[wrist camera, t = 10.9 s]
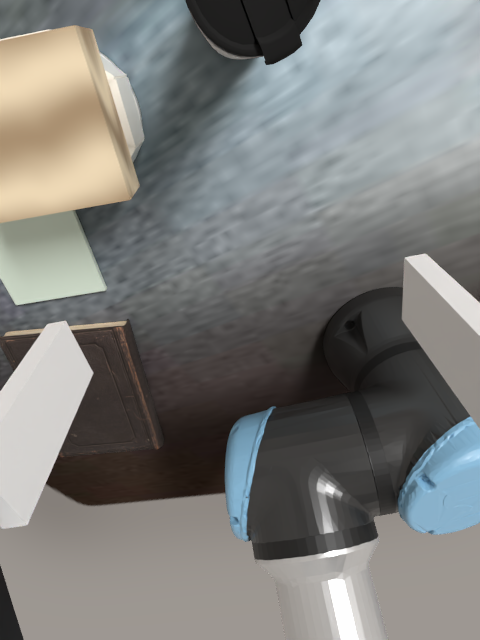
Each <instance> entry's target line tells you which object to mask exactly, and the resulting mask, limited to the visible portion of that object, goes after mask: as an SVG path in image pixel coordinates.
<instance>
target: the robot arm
mask: <svg viewBox="0 0 480 640" xmlns="http://www.w3.org/2000/svg"><path fill="white" fill-rule="evenodd" d="M323 350H324V354H325V357H326V360H327V363H328V365H329V368H330V369H331V371H332V373H333V374H334V375H335V376H336V377H337V378H338V379H339V380H340V381H341V383H342V384H343V385H344V386H345V387H346V388H347V389H348V390H349V391H350V392H349V393H344V394H339V395H335V396H331V397H326V398H322V399H317V400H313V401H308V402H303V403H298V404H293V405H289V406H284V407H279V408H276V407H275V406H274V407H270V408H269V409H268V410H265V411H262V412H258V413H254V414H251V415H247V416H244V417H242V418H240V419H239V420H238V421H237V422H236V423H235V424H234V425H233V427H232V429H231V431H230V434H229V439H228V442H227V449H226V458H225V491H226V502H227V503H226V504H227V510H228V514H229V515H230V525H231V528H232V531H233V533H234V535H235V536H236V537H237V538H238V539H241V540H244V541H245V542H246V541H250V540H251V541H252V545H253V551H254V557H255V562H256V563H257V564H258V565H259V566H260V567H262V568H263V569H264V570H265V571H266V572H268V573H269V574H270V575H271V576H272V578H273V579H274V581H275V583H276V589H277V594H278V600H279V606H280V611H281V617H282V623H283V629H284V633H285V640H389V639H388V635H387V632H386V628H385V624H384V621H383V617H382V613H381V609H380V606H379V602H378V598H377V594H376V590H375V587H374V583H373V579H372V576H371V572H370V568H369V561H370V558H371V556H372V554H373V552H374V550H375V548H376V546H377V544H378V542H379V537H378V533H377V530H376V526H375V523H374V517H375V516H380V515H386V514H392V513H397V512H399V514H400V517H401V518H402V519H403V520H404V521H405V522H406V523H407V524H408V526H409V527H410V528H412V529H413V530H415V531H417V532H420V533H426V532H428V533H430V534H434V535H435V534H446V533H452V532H456V531H459V530H462V529H465V528H468V527H471V526H474V525H476V524H478V523H480V303H479V302H478V301H477V300H476V299H475V298H474V297H473V296H472V295H471V294H469V293H468V292H467V291H466V290H465V289H464V288H463V287H462V286H461V285H460V284H458V283H457V282H456V281H455V280H454V279H453V278H452V277H451V276H450V275H449V274H448V273H446V272H445V271H444V270H443V269H442V268H441V267H440V266H439V265H438V264H437V263H435V262H434V261H433V260H432V259H431V258H430V257H429V256H428V255H427V254H421V255H415V256H410V257H405V258H404V279H403V288H399V287H389V288H381V289H376V290H372V291H369V292H367V293H364V294H362V295H360V296H358V297H356V298H354V299H352V300H351V301H349V302H348V303H347V304H345V305H344V306H343V307H342V308H341V309H340V310H339V311H338V312H337V313H336V314H335V315H334V316H333V318H332V319H331V321H330V322H329V324H328V326H327V328H326V331H325V334H324V338H323ZM92 375H93V371H92V370H91V368H90V366H89V364H88V362H87V360H86V358H85V356H84V354H83V352H82V351H81V349H80V347H79V345H78V343H77V341H76V339H75V337H74V335H73V333H72V332H71V330H70V328H69V326H68V324H67V322H66V321H62V322H56V323H51V324H47V325H46V327H45V328H44V330H43V331H42V333H41V334H40V335H39V337H38V338H37V340H36V341H35V343H34V344H33V345H32V347H31V348H30V350H29V351H28V353H27V354H26V355H25V357H24V358H23V360H22V361H21V363H20V364H19V365H18V367H17V368H16V370H15V371H14V373H13V374H12V375H11V377H10V378H9V380H8V381H7V383H6V384H5V385H4V387H3V388H2V390H1V391H0V527H1V528H2V529H5V528H12V527H18V526H26V525H28V523H29V520H30V518H31V516H32V513H33V511H34V509H35V506H36V504H37V502H38V500H39V497H40V495H41V493H42V490H43V488H44V486H45V484H46V481H47V479H48V477H49V474H50V472H51V470H52V467H53V465H54V463H55V461H56V458H57V456H58V454H59V451H60V449H61V447H62V444H63V442H64V440H65V437H66V435H67V433H68V431H69V428H70V426H71V424H72V421H73V419H74V417H75V414H76V412H77V410H78V408H79V405H80V403H81V401H82V398H83V396H84V394H85V391H86V389H87V387H88V384H89V382H90V380H91V378H92ZM0 640H23V636H22V633H21V630H20V627H19V624H18V620H17V617H16V614H15V611H14V608H13V605H12V602H11V598H10V595H9V592H8V589H7V586H6V582H5V579H4V576H3V573H2V569H1V566H0Z"/></svg>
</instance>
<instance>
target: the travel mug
mask: <svg viewBox="0 0 480 640" xmlns="http://www.w3.org/2000/svg"><path fill="white" fill-rule="evenodd" d="M319 2H320V0H186V3H187V6H188V8H189V10H190V13H191V15H192V17H193V19H194V21H195V23H196V25H197V27H198V28H199V30H200V31H201V33H202V34H203V35H204V37H205V38H206V39H207V41H208V42H209V43H210V45H211V46H212V47H213V48H214V49H215V50H216V51H217V52H218V53H219V54H221V55H223V56H225V57H227V58H230V59H238V60H240V59H251V58H257V57H263V56H264V58H265V60H266V61H265V63H266V65H269V64H274V63H276V62H278V61H280V60H282V59H284V58H286V57H288V56H289V55H291V54H293V53H294V52H295V51H296V50H297V49H299V48H300V47H301V46H302V42H301V39H300V34H301V32H302V31H303V30H304V29H305V27H306V26H307V25H308V23H309V22H310V20H311V19H312V17H313V16H314V14H315V11H316V9H317V7H318V5H319Z"/></svg>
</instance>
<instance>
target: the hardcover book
mask: <svg viewBox="0 0 480 640" xmlns="http://www.w3.org/2000/svg"><path fill="white" fill-rule="evenodd" d="M69 328H70V330H71V332H72V333H73V335H74V337H75V339H76V341H77V343H78V345H79V347H80V349H81V351H82V352H83V354H84V356H85V358H86V360H87V362H88V364H89V366H90V368H91V370H92V371H93V375H92V378H91V380H90V382H89V384H88V387H87V389H86V391H85V394H84V396H83V398H82V401H81V403H80V405H79V408H78V410H77V412H76V414H75V417H74V419H73V421H72V424H71V426H70V428H69V431H68V433H67V435H66V437H65V440H64V442H63V444H62V447H61V449H60V451H59V454H60V456H61V457H66V456H78V455H89V454H101V453H113V452H124V451H136V450H148V449H159V448H161V447H162V446H163V444H164V437H163V433H162V430H161V426H160V423H159V420H158V416H157V413H156V409H155V406H154V403H153V399H152V396H151V393H150V389H149V386H148V382H147V379H146V376H145V372H144V369H143V365H142V362H141V359H140V355H139V352H138V349H137V345H136V342H135V338H134V335H133V332H132V328H131V325H130V321H129V319H127V321H121V322H110V323H99V324H89V325H78V326H69ZM43 330H44V329H34V330H24V331H13V332H7V333H6V334H5V335H4V336H3V337H0V346H1V348H2V349H3V351H4V353H5V355H6V357H7V359H8V360H9V362H10V364H11V366H12V368H13V370H14V371H15V370H16V368H17V367H18V365H19V364H20V363H21V361H22V360H23V358H24V357H25V355H26V354H27V353H28V351H29V350H30V348H31V347H32V345H33V344H34V343H35V341H36V340H37V338H38V337H39V335H40V334H41V333H42V331H43Z"/></svg>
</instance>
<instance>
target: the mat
mask: <svg viewBox="0 0 480 640" xmlns="http://www.w3.org/2000/svg"><path fill="white" fill-rule="evenodd" d="M0 278H1V280H2V282H3V283H4V285H5V287H6V289H7V290H8V292H9V294H10V296H11V297H12V299H13V301H14V303H15V304H16V305H21V304H27V303H33V302H39V301H45V300H51V299H57V298H63V297H69V296H75V295H81V294H87V293H94V292H100V291H106V289H107V287H106V284H105V282H104V280H103V277H102V275H101V272H100V270H99V267H98V265H97V262H96V260H95V258H94V255H93V253H92V250H91V248H90V245H89V243H88V240H87V238H86V236H85V233H84V231H83V228H82V226H81V223H80V221H79V218H78V216H77V214H76V211H75V210H71V211H65V212H60V213H54V214H49V215H43V216H38V217H32V218H26V219H21V220H15V221H10V222H4V223H0Z"/></svg>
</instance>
